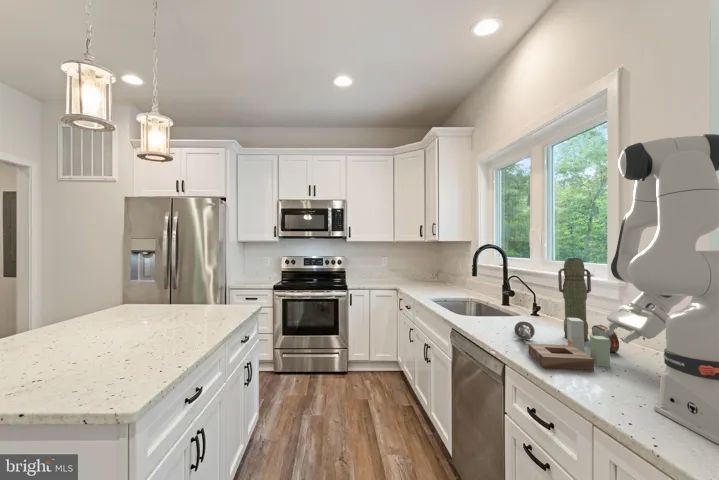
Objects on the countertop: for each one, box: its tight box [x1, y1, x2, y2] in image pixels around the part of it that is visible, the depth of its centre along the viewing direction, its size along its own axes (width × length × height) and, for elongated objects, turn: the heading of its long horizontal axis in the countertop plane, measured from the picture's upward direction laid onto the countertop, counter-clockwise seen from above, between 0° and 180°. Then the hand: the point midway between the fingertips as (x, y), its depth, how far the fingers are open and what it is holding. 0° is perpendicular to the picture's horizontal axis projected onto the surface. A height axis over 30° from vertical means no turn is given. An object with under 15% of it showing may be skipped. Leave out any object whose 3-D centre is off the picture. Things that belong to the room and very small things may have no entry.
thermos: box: [557, 257, 592, 342], centre depth 142 cm, size 9×12×35 cm
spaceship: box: [513, 320, 535, 341], centre depth 141 cm, size 8×35×8 cm
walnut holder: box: [527, 343, 595, 372], centre depth 113 cm, size 15×15×4 cm
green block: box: [589, 335, 611, 367], centre depth 111 cm, size 4×4×9 cm
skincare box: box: [566, 318, 586, 354], centre depth 126 cm, size 6×4×12 cm
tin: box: [591, 324, 620, 353], centre depth 127 cm, size 15×3×8 cm, turn 168°
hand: (615, 337), depth 110 cm, fingers open, 8 cm apart
